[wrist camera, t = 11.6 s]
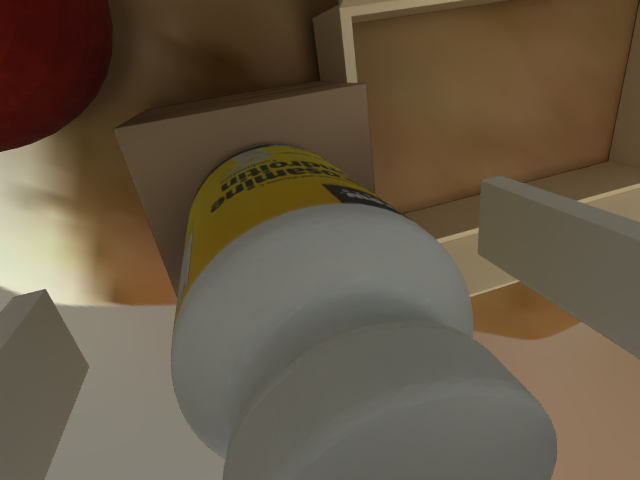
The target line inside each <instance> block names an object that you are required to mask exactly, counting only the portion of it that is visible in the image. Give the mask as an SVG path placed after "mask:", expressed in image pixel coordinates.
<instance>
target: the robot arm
mask: <svg viewBox="0 0 640 480" xmlns="http://www.w3.org/2000/svg"><path fill="white" fill-rule="evenodd" d="M478 254H479V255H480V256H482V257H483V258H485V259H486V260H488V261H489V262H491V263H492V264H494V265H495V266H497V267H499V268H500V269H502V270H503V271H505V272H506V273H508V274H509V275H511V276H512V277H514V278H515V279H517V280H519V281H520V282H522V283H523V284H525V285H526V286H528V287H529V288H531V289H532V290H534V291H535V292H537V293H538V294H540V295H542V296H543V297H545V298H546V299H548V300H549V301H551V302H552V303H554V304H555V305H557V306H558V307H560V308H561V309H563V310H565V311H566V312H568V313H569V314H571V315H572V316H574V317H575V318H577V319H578V320H580V321H581V322H583V323H585V324H586V325H588V326H589V327H591V328H592V329H594V330H595V331H597V332H598V333H600V334H602V335H603V336H604V337H606V338H608V339H609V340H611V341H612V342H614V343H615V344H617V345H619V346H620V347H621V348H623V349H625V350H626V351H628V352H629V353H631V354H632V355H634V356H635V357H637V358H638V359H640V222H638V221H635V220H632V219H629V218H626V217H623V216H620V215H617V214H614V213H611V212H608V211H605V210H602V209H599V208H596V207H593V206H590V205H587V204H584V203H581V202H578V201H575V200H572V199H569V198H566V197H563V196H560V195H557V194H554V193H551V192H548V191H545V190H542V189H540V188H537V187H534V186H531V185H528V184H525V183H522V182H519V181H516V180H513V179H510V178H507V177H504V176H497V177H493V178H489V179H485V180H481V190H480V212H479V234H478ZM88 368H89V366H88V364H87V362H86V360H85V358H84V357H83V355H82V353H81V351H80V349H79V348H78V346H77V344H76V342H75V341H74V339H73V337H72V335H71V333H70V332H69V330H68V328H67V326H66V325H65V323H64V321H63V319H62V317H61V316H60V314H59V312H58V310H57V308H56V307H55V305H54V303H53V301H52V299H51V298H50V296H49V294H48V292H47V291H46V289H43V290H39V291H35V292H31V293H27V294H23V295H19V296H15V297H13V298H12V299H11V300H10V301H9V303H8V304H7V305H6V306H5V307H4V308H3V310H2V311H1V312H0V480H44V479H45V476H46V474H47V471H48V469H49V466H50V464H51V462H52V459H53V457H54V454H55V451H56V449H57V446H58V444H59V441H60V439H61V436H62V434H63V431H64V429H65V426H66V424H67V421H68V419H69V416H70V414H71V411H72V409H73V406H74V404H75V401H76V398H77V396H78V394H79V391H80V389H81V386H82V383H83V381H84V378H85V376H86V373H87V371H88Z"/></svg>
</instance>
